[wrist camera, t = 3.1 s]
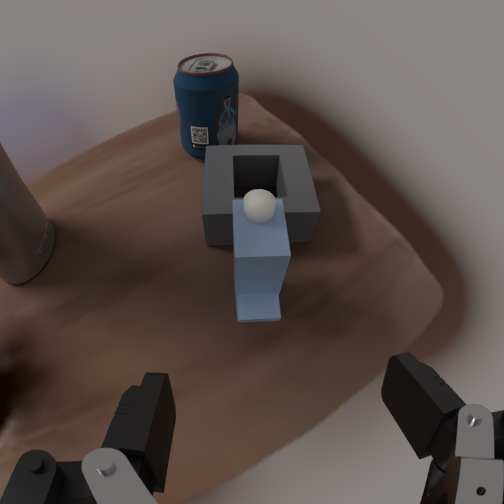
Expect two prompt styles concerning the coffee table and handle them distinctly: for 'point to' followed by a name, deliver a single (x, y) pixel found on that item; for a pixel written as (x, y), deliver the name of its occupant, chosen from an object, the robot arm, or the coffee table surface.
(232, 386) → the coffee table surface
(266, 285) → the block
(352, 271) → the coffee table surface
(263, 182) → the grey block with hole
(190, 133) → the soda can
